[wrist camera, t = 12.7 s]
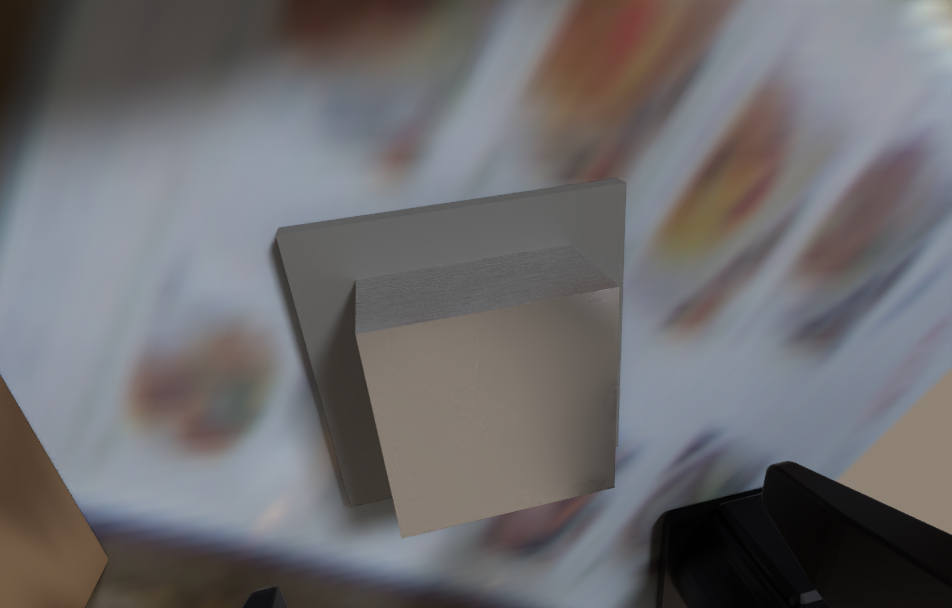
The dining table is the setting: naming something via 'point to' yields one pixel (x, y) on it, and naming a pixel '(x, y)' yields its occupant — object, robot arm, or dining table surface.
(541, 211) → the mat
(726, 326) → the dining table surface
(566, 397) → the square block
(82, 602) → the plane body
